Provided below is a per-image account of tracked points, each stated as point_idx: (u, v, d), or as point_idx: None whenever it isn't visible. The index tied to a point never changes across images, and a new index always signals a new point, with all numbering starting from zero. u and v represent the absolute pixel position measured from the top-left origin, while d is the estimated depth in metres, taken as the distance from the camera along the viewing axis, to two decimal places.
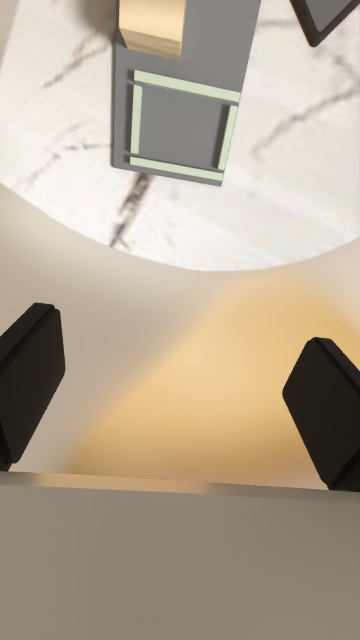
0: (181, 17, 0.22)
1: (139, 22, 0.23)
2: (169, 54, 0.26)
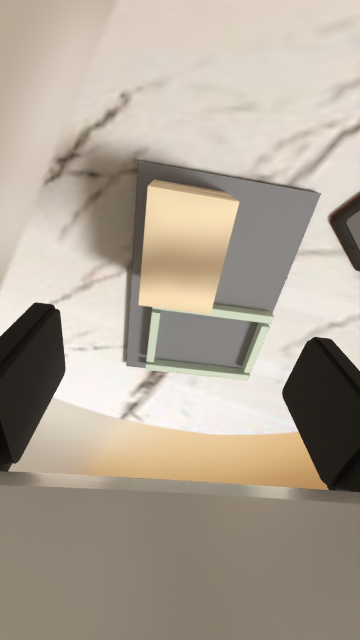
0: (212, 297, 0.19)
1: (162, 301, 0.19)
2: None
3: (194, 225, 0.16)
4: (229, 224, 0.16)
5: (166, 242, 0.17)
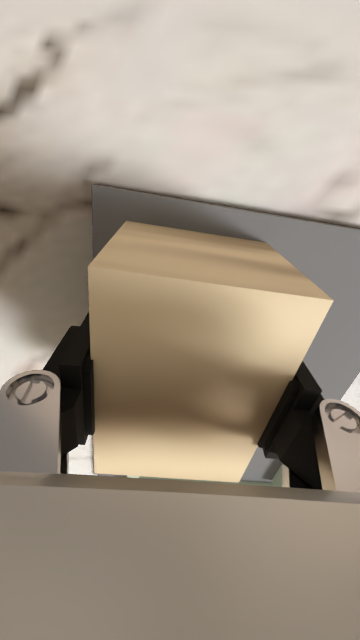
0: (245, 460, 0.09)
1: (143, 467, 0.09)
2: None
3: (213, 348, 0.07)
4: (299, 345, 0.07)
5: (145, 380, 0.07)
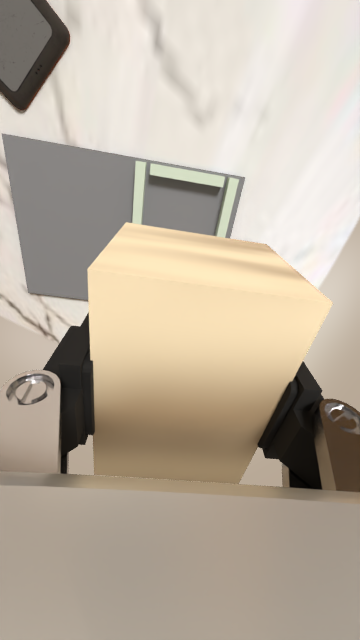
0: (245, 462, 0.09)
1: (143, 469, 0.09)
2: None
3: (212, 350, 0.07)
4: (298, 348, 0.07)
5: (145, 381, 0.07)
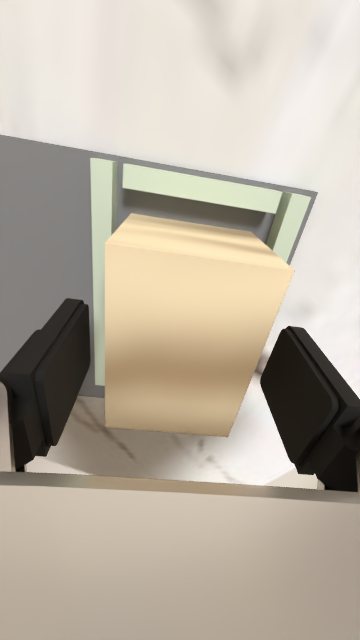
0: (233, 415, 0.11)
1: (146, 422, 0.11)
2: None
3: (202, 311, 0.08)
4: (270, 309, 0.08)
5: (148, 339, 0.09)
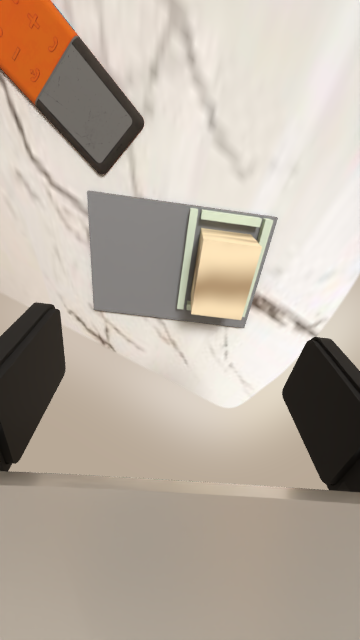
0: (243, 308, 0.27)
1: (208, 311, 0.27)
2: None
3: (232, 261, 0.25)
4: (255, 260, 0.24)
5: (213, 272, 0.25)
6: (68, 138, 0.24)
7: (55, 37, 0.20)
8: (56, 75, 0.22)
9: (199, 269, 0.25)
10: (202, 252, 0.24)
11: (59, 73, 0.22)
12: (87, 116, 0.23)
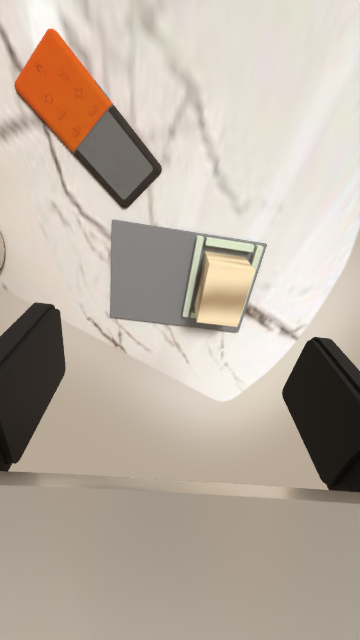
0: (239, 317, 0.33)
1: (210, 320, 0.34)
2: None
3: (231, 281, 0.31)
4: (249, 280, 0.31)
5: (216, 289, 0.31)
6: (99, 179, 0.29)
7: (95, 105, 0.26)
8: (94, 132, 0.27)
9: (205, 286, 0.31)
10: (208, 273, 0.30)
11: (96, 131, 0.27)
12: (116, 164, 0.28)
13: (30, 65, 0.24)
